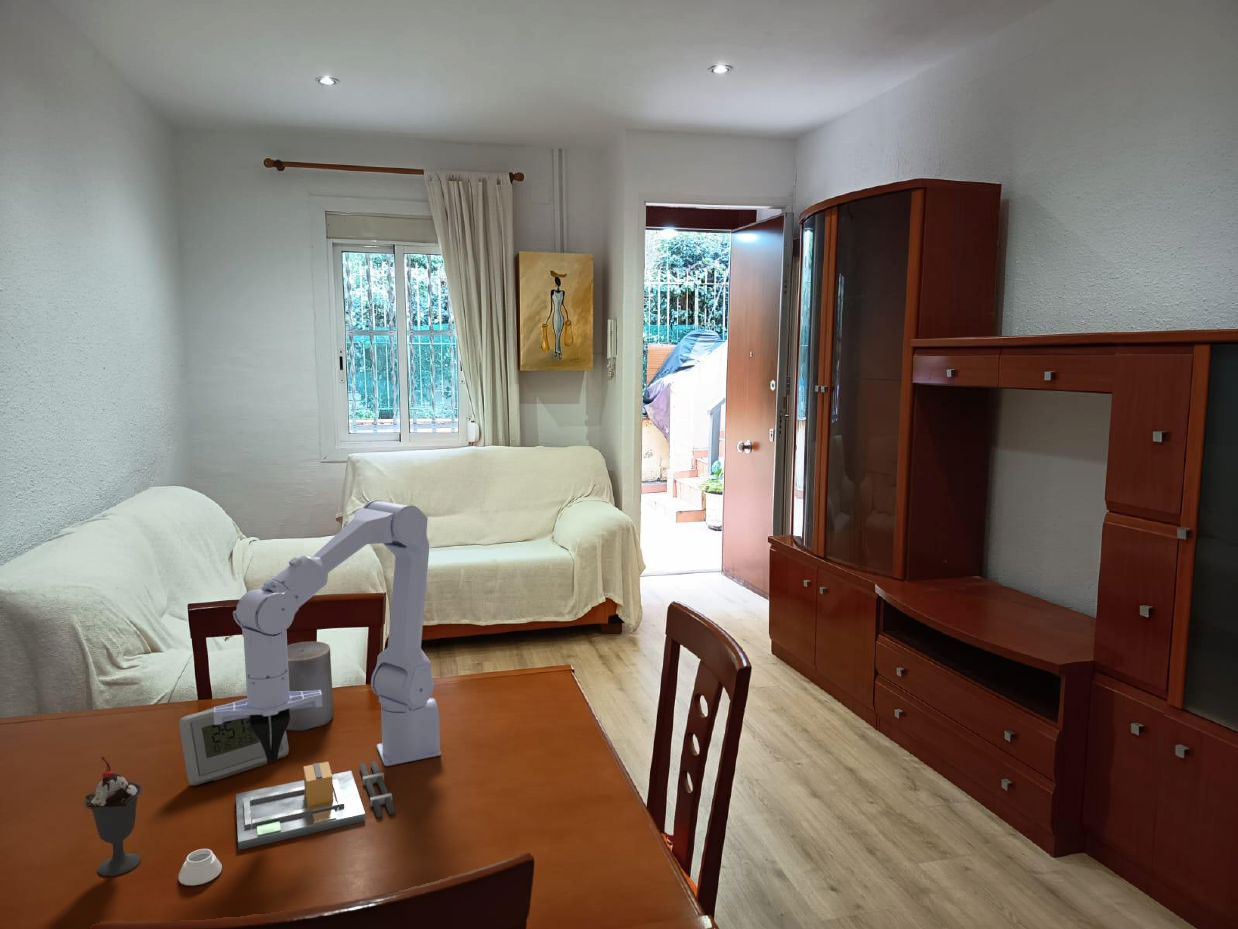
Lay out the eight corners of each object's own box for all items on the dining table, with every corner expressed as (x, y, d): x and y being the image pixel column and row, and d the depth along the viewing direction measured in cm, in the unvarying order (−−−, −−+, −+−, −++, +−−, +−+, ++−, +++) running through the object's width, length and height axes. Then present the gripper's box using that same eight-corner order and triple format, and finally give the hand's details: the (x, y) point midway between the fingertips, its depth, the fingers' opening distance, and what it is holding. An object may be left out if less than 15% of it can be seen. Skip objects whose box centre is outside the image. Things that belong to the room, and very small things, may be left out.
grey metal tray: (351, 777, 134) (351, 767, 134) (365, 821, 121) (364, 809, 121) (236, 801, 126) (235, 790, 126) (238, 850, 114) (237, 838, 114)
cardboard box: (329, 788, 128) (328, 760, 127) (333, 804, 123) (332, 775, 123) (304, 793, 126) (303, 765, 126) (307, 809, 122) (306, 780, 121)
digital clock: (184, 791, 129) (180, 727, 128) (179, 767, 137) (176, 706, 135) (293, 765, 138) (291, 705, 136) (283, 744, 145) (280, 686, 144)
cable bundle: (377, 765, 138) (377, 758, 138) (396, 813, 123) (396, 807, 123) (357, 769, 137) (357, 762, 136) (375, 818, 122) (374, 812, 122)
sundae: (105, 852, 113) (97, 748, 111) (156, 850, 114) (149, 747, 112) (78, 882, 107) (69, 773, 105) (132, 880, 107) (125, 771, 105)
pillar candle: (295, 707, 161) (291, 633, 158) (343, 710, 159) (339, 635, 157) (268, 729, 151) (263, 651, 149) (318, 733, 150) (313, 654, 148)
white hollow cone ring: (209, 889, 106) (228, 865, 111) (208, 867, 105) (227, 845, 110) (171, 887, 106) (192, 864, 111) (169, 866, 106) (191, 844, 111)
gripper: (211, 690, 113) (217, 783, 115) (323, 673, 119) (327, 761, 121) (211, 672, 119) (217, 761, 121) (317, 657, 125) (321, 741, 127)
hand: (272, 760), depth 121 cm, fingers closed
